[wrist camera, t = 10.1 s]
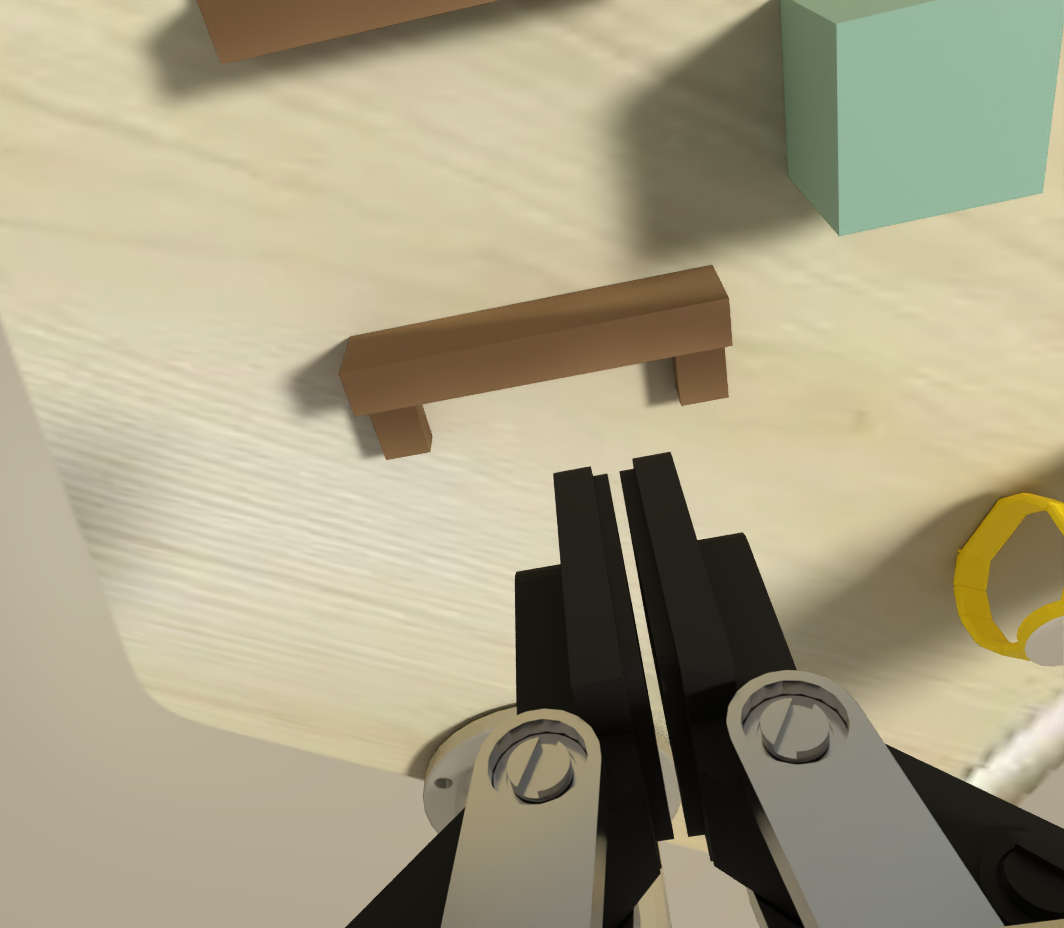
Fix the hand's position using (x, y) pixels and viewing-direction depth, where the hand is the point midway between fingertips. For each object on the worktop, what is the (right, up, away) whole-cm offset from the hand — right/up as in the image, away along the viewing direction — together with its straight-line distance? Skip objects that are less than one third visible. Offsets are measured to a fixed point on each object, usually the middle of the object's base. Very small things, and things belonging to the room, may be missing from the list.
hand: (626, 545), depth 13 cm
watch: (+17, -1, +22) cm, 28 cm away
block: (+8, +12, +12) cm, 19 cm away
